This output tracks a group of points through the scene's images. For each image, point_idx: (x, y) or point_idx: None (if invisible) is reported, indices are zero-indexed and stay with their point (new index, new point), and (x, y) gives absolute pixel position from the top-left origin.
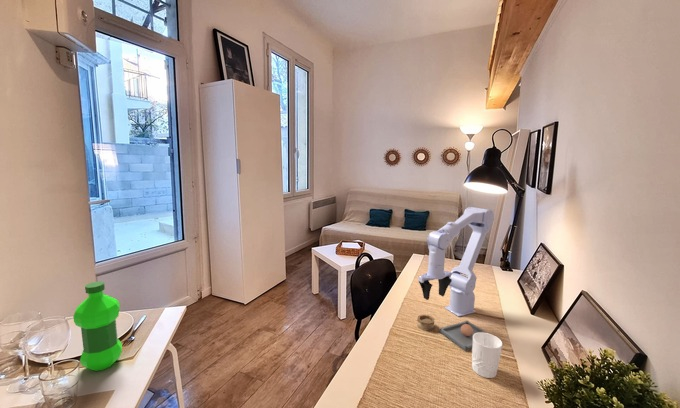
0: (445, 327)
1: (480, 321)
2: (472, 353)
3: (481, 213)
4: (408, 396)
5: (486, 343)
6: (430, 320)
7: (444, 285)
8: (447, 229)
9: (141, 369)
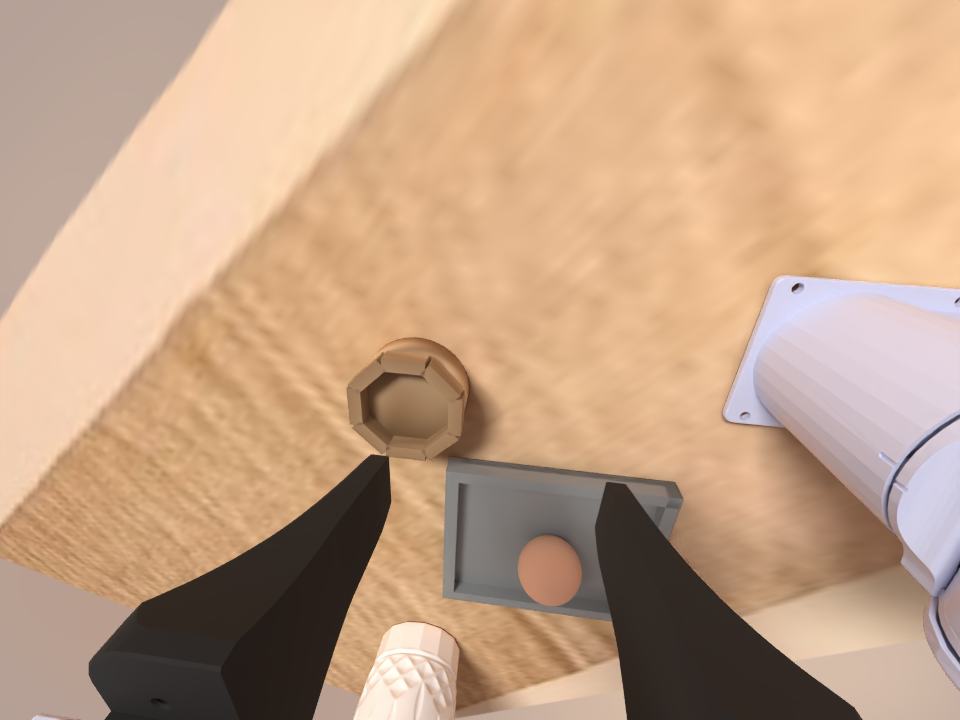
0: (488, 480)
1: (780, 503)
2: (367, 691)
3: None
4: (126, 594)
5: None
6: (446, 410)
7: (631, 692)
8: None
9: None
